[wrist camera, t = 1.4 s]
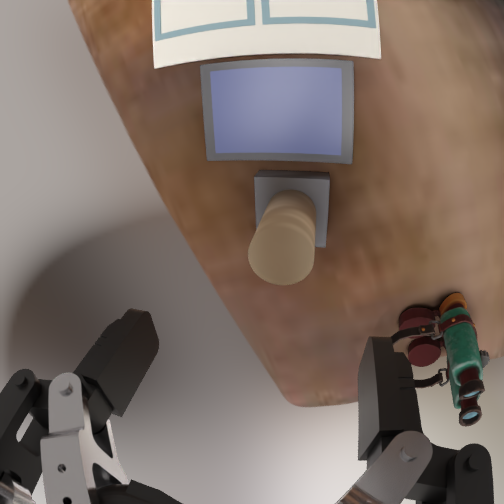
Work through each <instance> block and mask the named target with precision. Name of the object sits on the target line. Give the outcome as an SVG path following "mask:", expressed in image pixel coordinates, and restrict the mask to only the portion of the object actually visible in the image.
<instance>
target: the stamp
mask: <svg viewBox="0 0 504 504" xmlns="http://www.w3.org/2000/svg"><path fill="white" fill-rule="evenodd" d="M254 186H255V210H256V232H255V234H254V237H253V239H252V241H251V243H250V246H249V249H248V260H249V263H250V266H251V268H252V269H253V271H254V272H255V273H256V274H257V275H258V276H259V277H260V278H262V279H263V280H265V281H267V282H269V283H272V284H276V285H291V284H294V283H297V282H299V281H301V280H303V279H304V278H305V277H306V276H307V275H308V274H309V273H310V271H311V269H312V267H313V263H314V251H315V247H324V248H325V247H326V235H327V221H328V206H329V187H330V177H329V172H312V171H288V170H259V171H258V173H257V174H256V175H255V176H254Z"/></svg>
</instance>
